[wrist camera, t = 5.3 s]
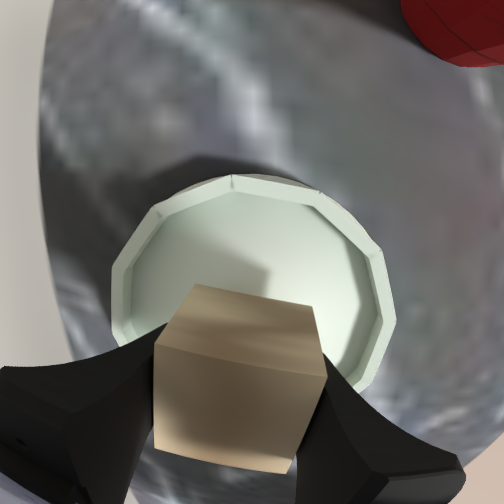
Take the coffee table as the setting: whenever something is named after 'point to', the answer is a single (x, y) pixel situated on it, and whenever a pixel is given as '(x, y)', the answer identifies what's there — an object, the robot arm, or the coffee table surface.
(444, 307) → the coffee table surface
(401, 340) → the coffee table surface
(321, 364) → the birch block
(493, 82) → the coffee table surface
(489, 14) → the plastic cup
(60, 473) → the robot arm
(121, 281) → the celadon dish
